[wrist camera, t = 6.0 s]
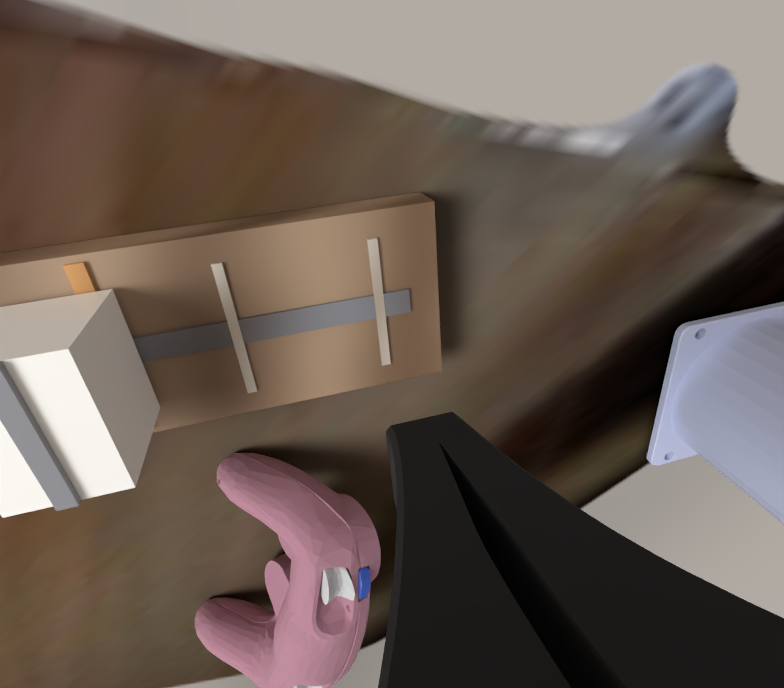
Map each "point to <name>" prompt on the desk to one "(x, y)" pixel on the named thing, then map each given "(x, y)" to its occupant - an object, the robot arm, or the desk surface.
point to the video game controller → (296, 579)
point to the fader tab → (70, 403)
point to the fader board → (261, 302)
